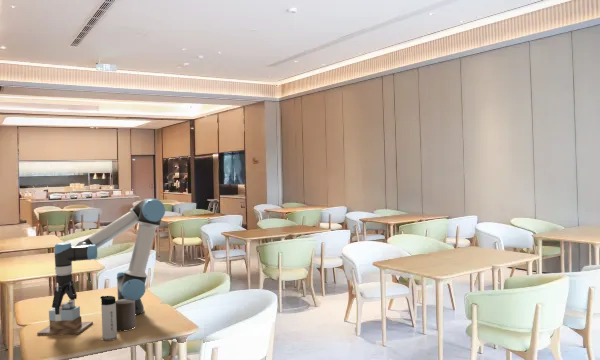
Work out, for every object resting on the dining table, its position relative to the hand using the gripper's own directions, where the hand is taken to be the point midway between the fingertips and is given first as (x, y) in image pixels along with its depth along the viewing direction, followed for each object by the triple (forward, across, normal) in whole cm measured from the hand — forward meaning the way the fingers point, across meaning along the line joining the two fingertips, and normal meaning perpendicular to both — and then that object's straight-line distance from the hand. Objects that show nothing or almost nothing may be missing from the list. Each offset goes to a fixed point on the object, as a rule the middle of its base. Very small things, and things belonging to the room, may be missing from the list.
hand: (65, 316), depth 245 cm
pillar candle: (+7, 0, +30) cm, 31 cm away
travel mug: (+7, +15, +28) cm, 32 cm away
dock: (+7, 0, 0) cm, 7 cm away
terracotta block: (-3, 0, -2) cm, 4 cm away
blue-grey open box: (+1, 0, 0) cm, 1 cm away
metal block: (-3, 0, +1) cm, 3 cm away
